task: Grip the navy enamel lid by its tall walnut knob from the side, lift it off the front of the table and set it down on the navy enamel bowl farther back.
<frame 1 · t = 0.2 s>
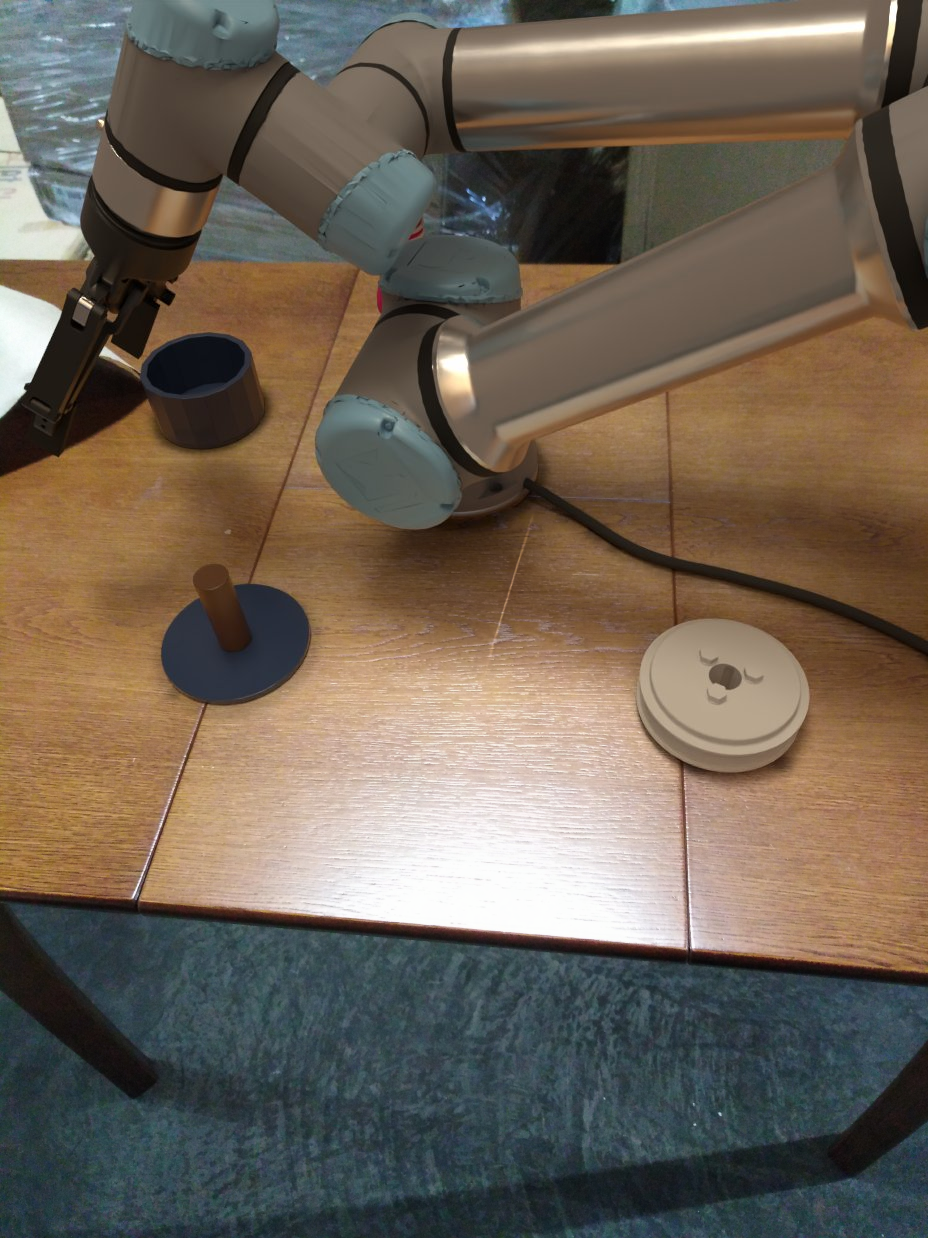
hand: (87, 394, 76), 15 cm above the table, tool tilted 35°, fingers open, 13 cm apart
pepper mill: (411, 334, 106), on the table
bowl: (212, 414, 97), on the table
bowl lid: (237, 643, 77), point 1 cm above the table
beige round base: (714, 709, 71), on the table
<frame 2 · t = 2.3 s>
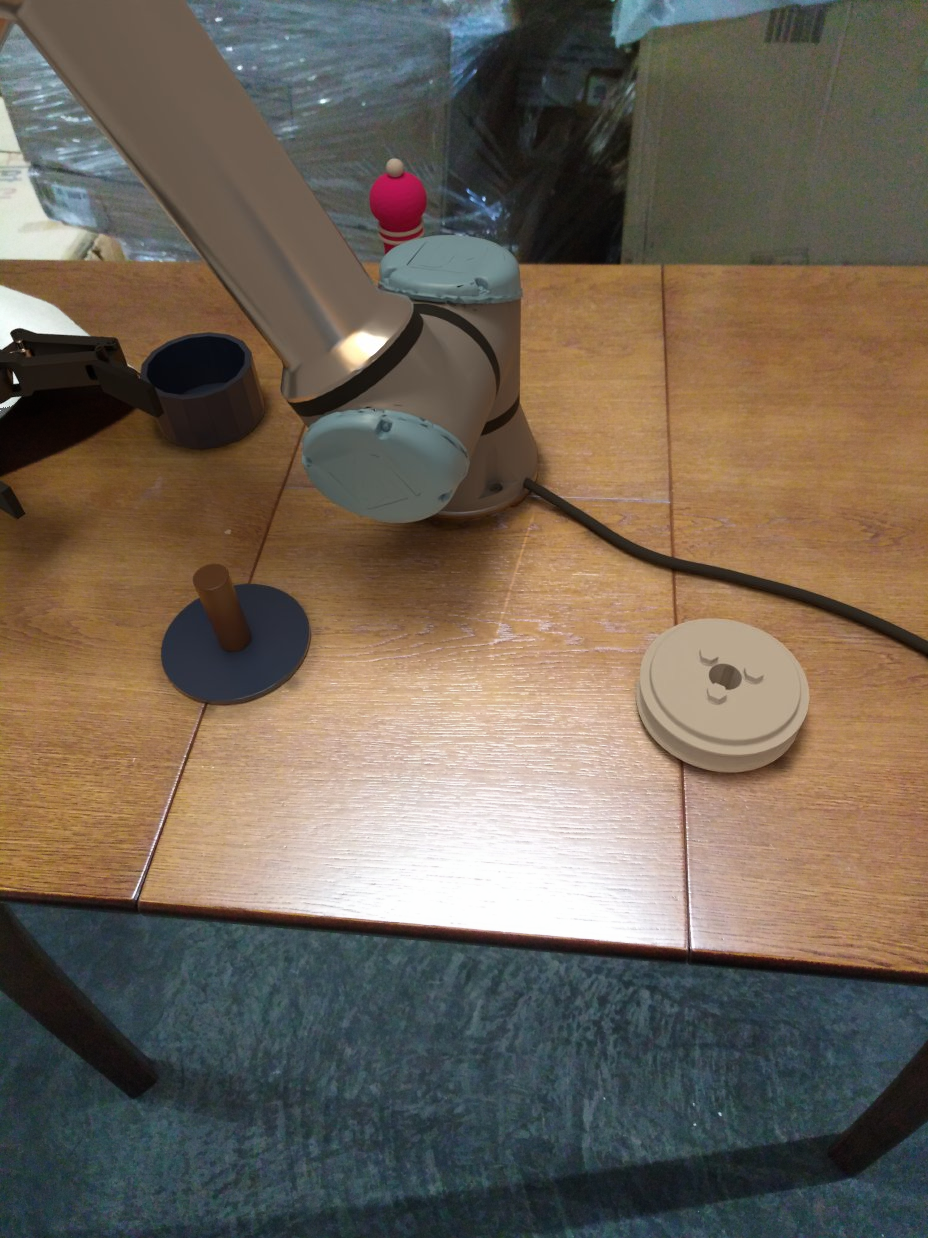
hand: (88, 450, 67), 18 cm above the table, tool horizontal, fingers open, 13 cm apart
nothing on the table moved.
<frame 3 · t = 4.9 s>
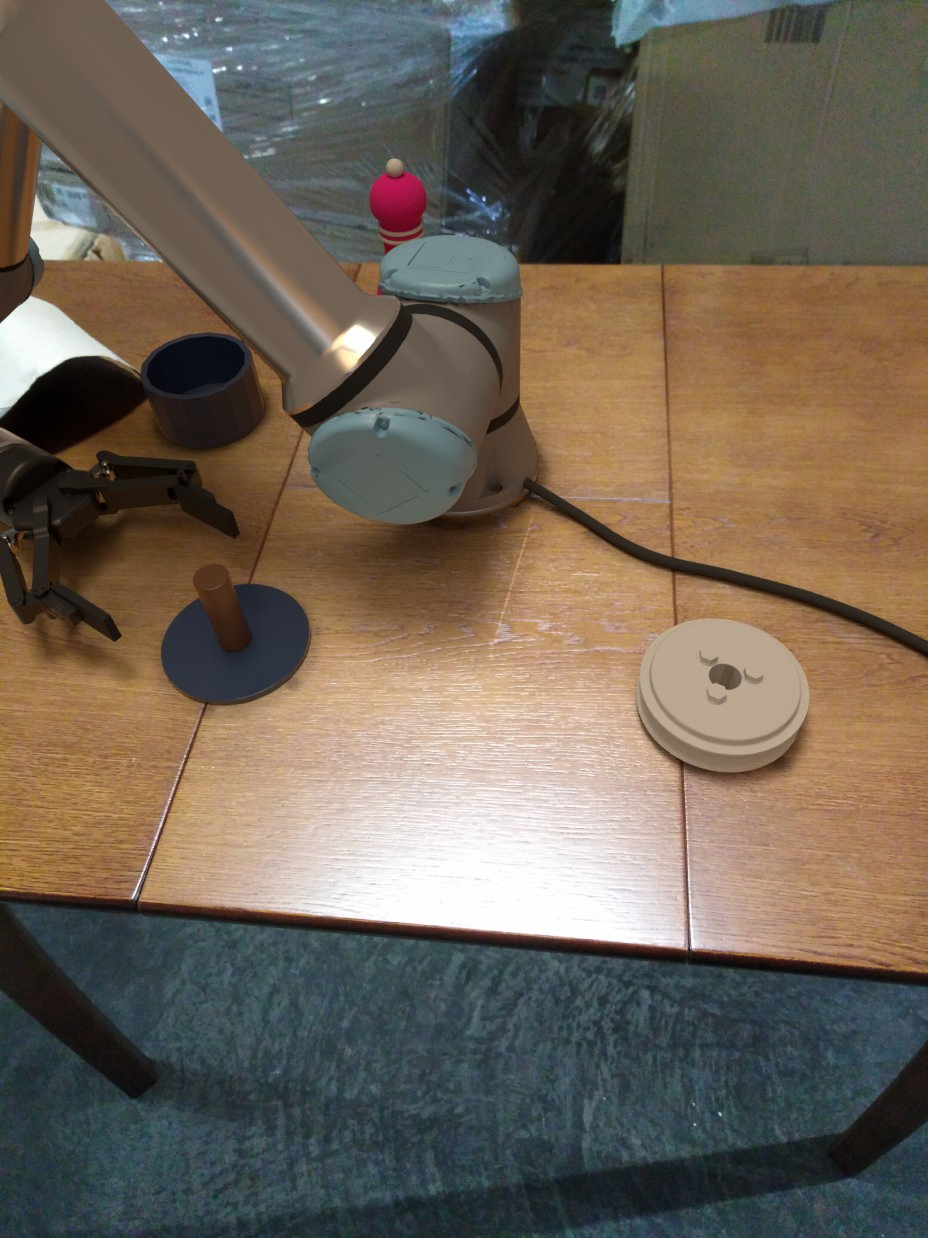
hand: (176, 574, 74), 6 cm above the table, tool horizontal, fingers open, 13 cm apart
nothing on the table moved.
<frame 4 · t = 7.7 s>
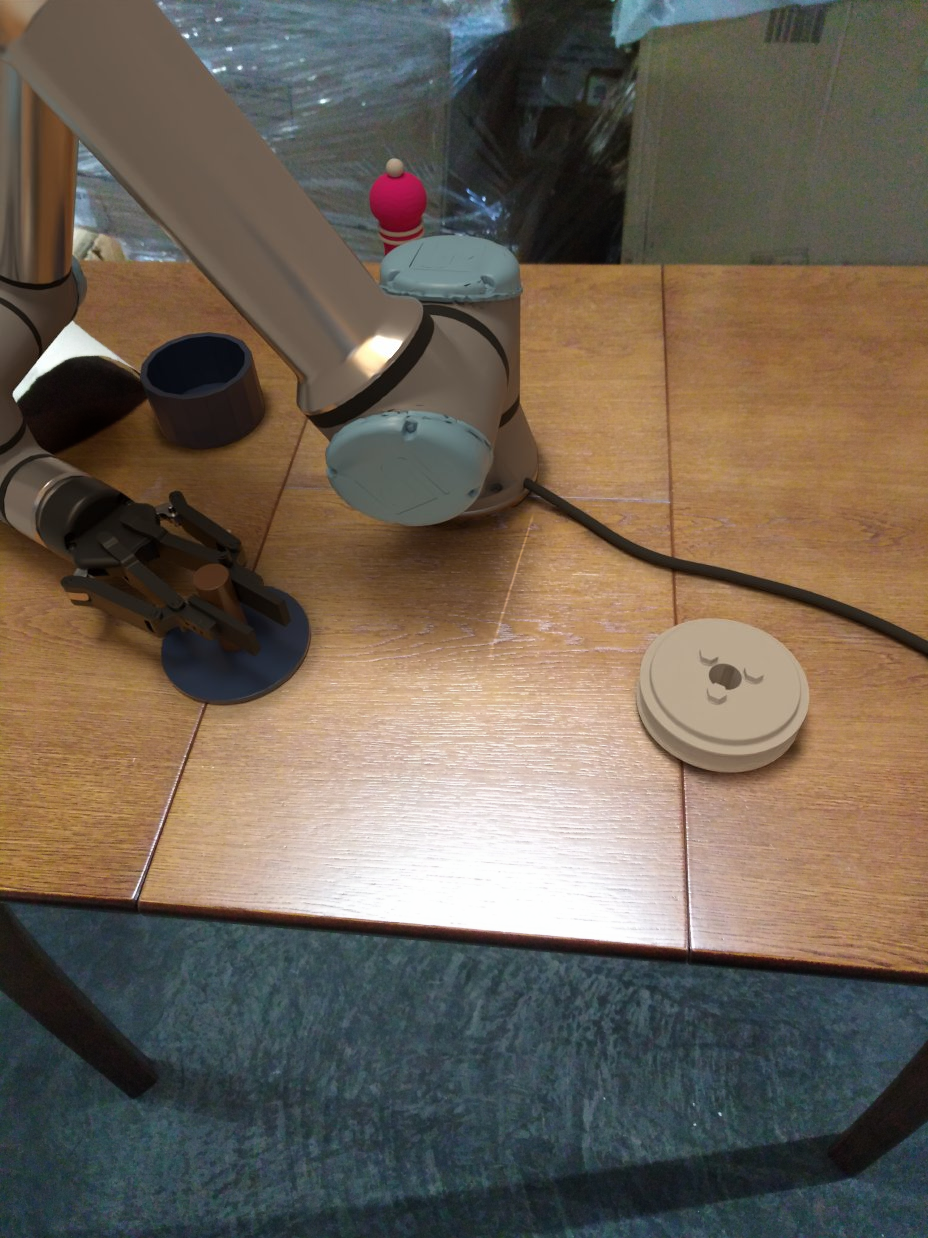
hand: (269, 627, 70), 7 cm above the table, tool horizontal, fingers closed on bowl lid, 3 cm apart
bowl lid: (237, 643, 76), point 1 cm above the table, touching gripper
everything else where it was.
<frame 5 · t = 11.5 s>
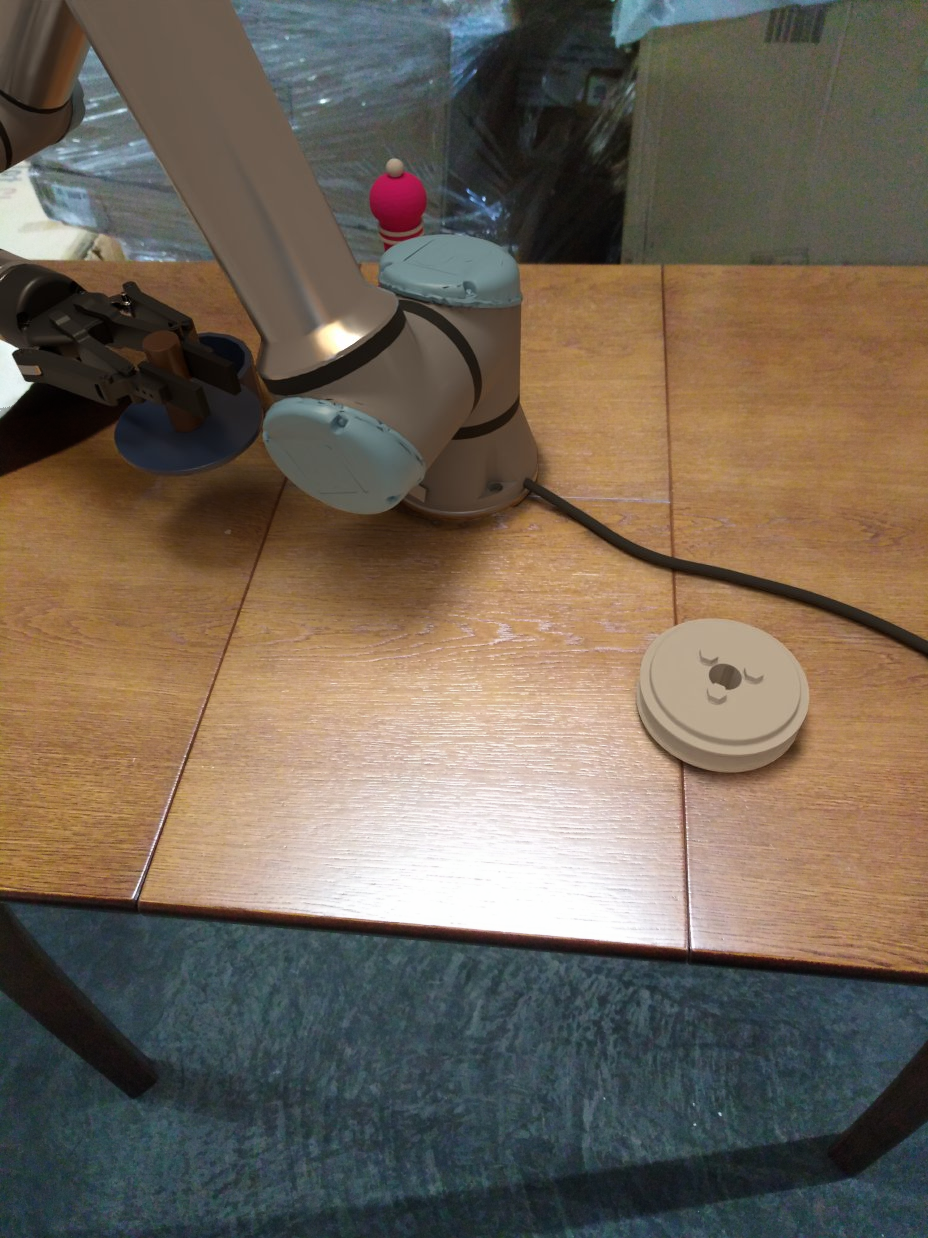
hand: (218, 390, 70), 18 cm above the table, tool horizontal, fingers closed on bowl lid, 3 cm apart
bowl lid: (190, 427, 77), point 12 cm above the table, touching gripper
everything else where it was.
when the fingers open (12 cm above the table, at t = 15.5 s): bowl lid stays where it is, resting on bowl.
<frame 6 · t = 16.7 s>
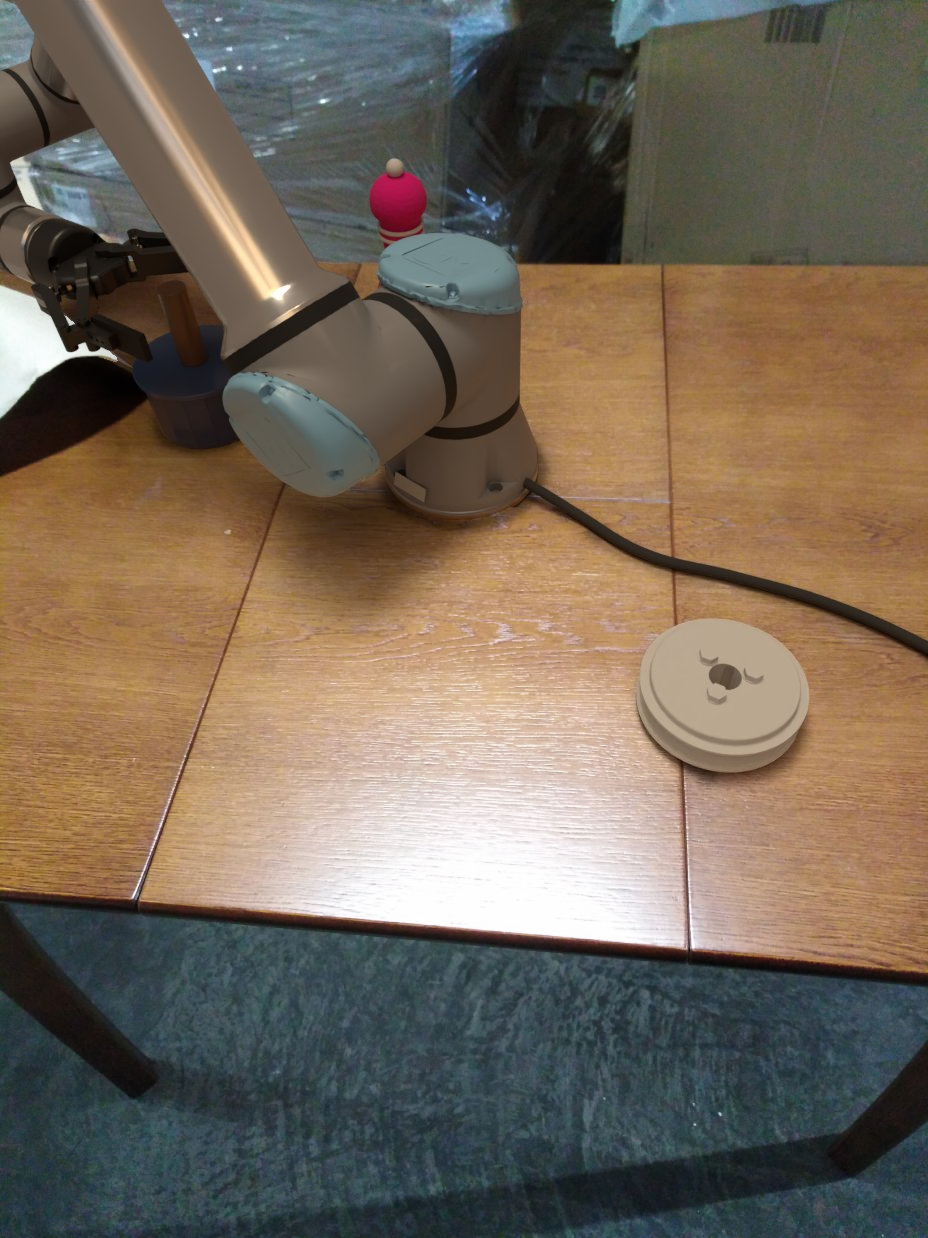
hand: (199, 312, 86), 13 cm above the table, tool horizontal, fingers open, 13 cm apart
bowl lid: (195, 363, 92), point 6 cm above the table, touching bowl
everything else where it was.
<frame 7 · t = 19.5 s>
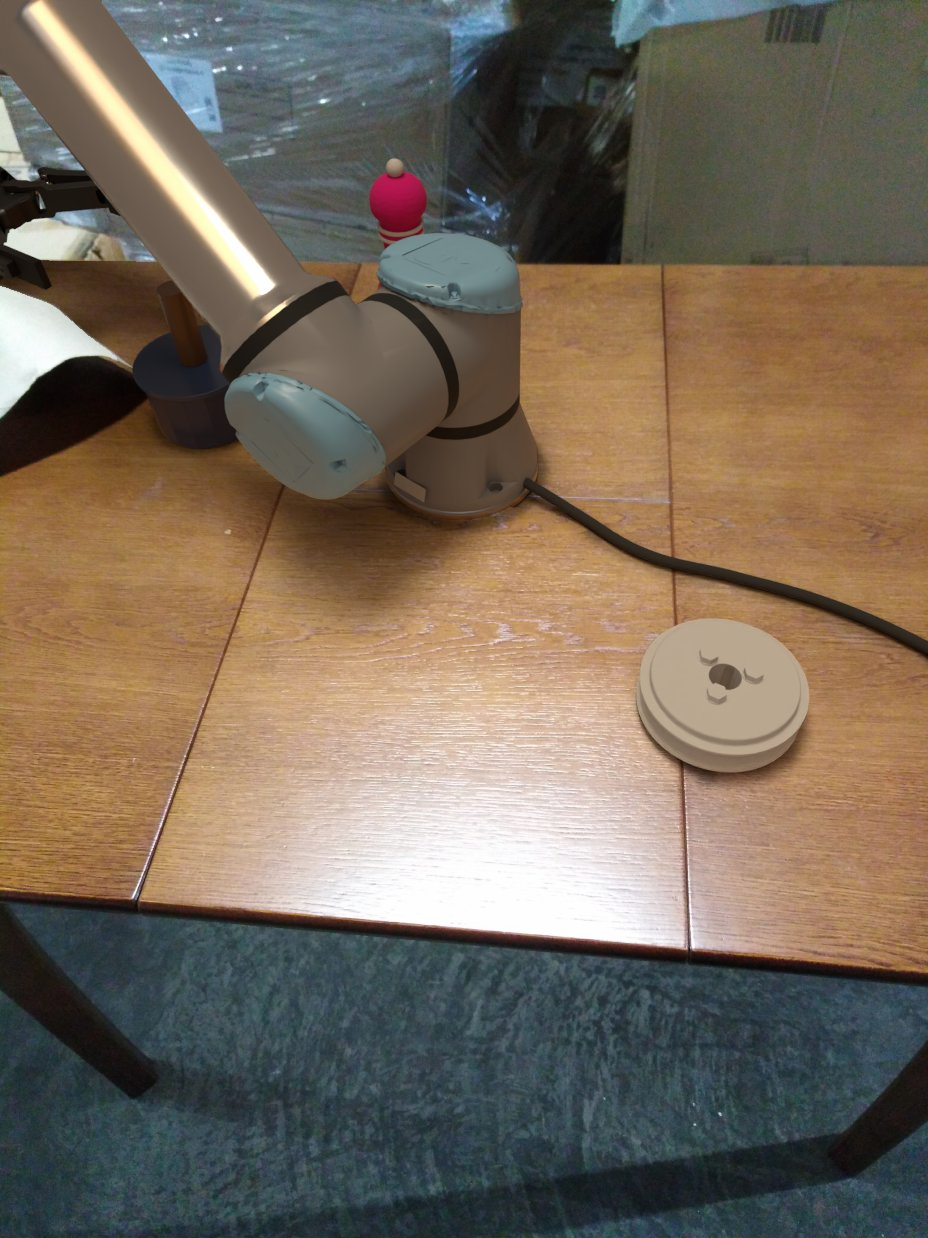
hand: (99, 243, 88), 17 cm above the table, tool horizontal, fingers open, 13 cm apart
nothing on the table moved.
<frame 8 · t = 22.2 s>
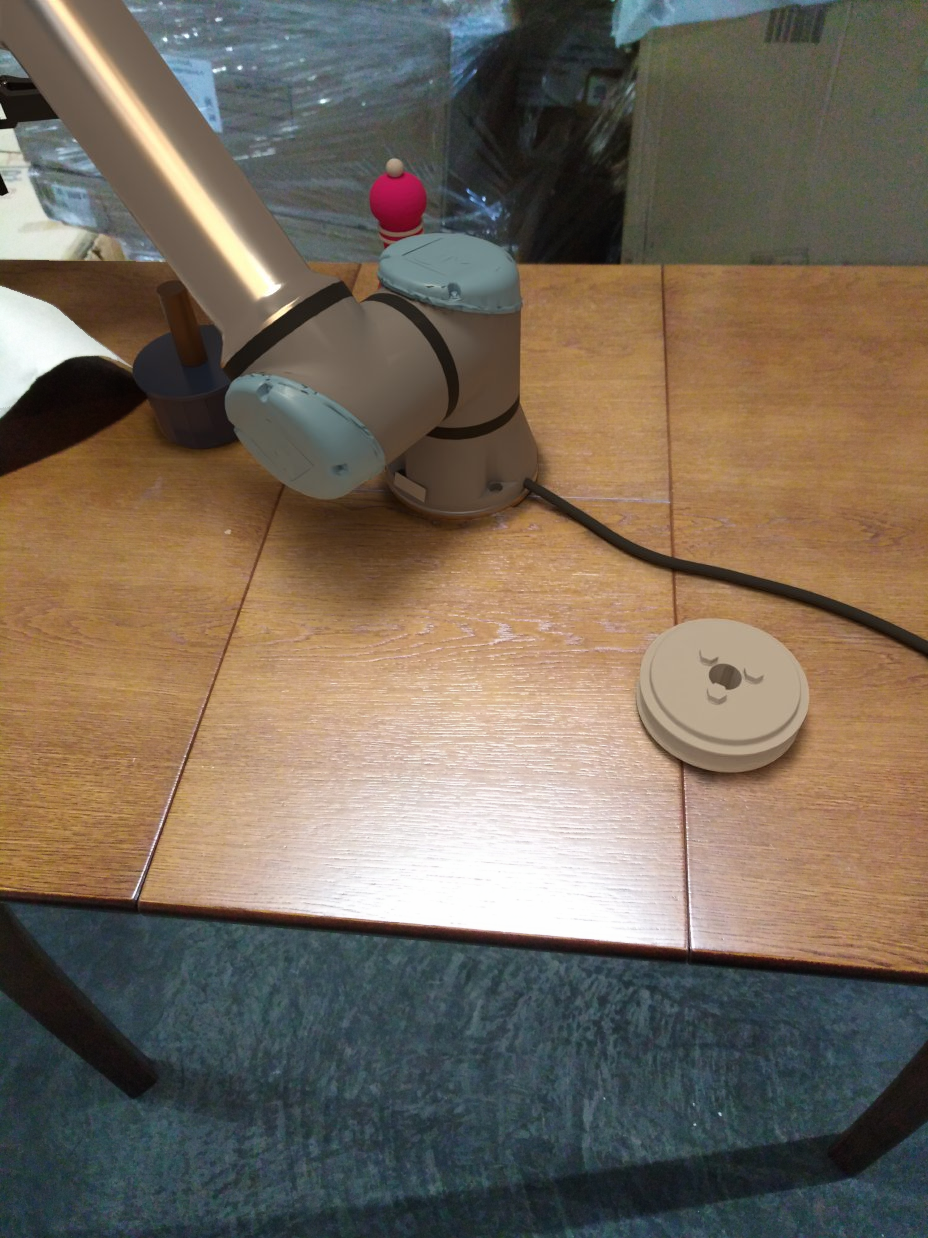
hand: (61, 148, 81), 26 cm above the table, tool horizontal, fingers open, 13 cm apart
nothing on the table moved.
at the end: bowl lid 0.0 cm off-centre on the bowl, point 6.5 cm above the bowl's base; bowl lid tilted 0° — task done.
